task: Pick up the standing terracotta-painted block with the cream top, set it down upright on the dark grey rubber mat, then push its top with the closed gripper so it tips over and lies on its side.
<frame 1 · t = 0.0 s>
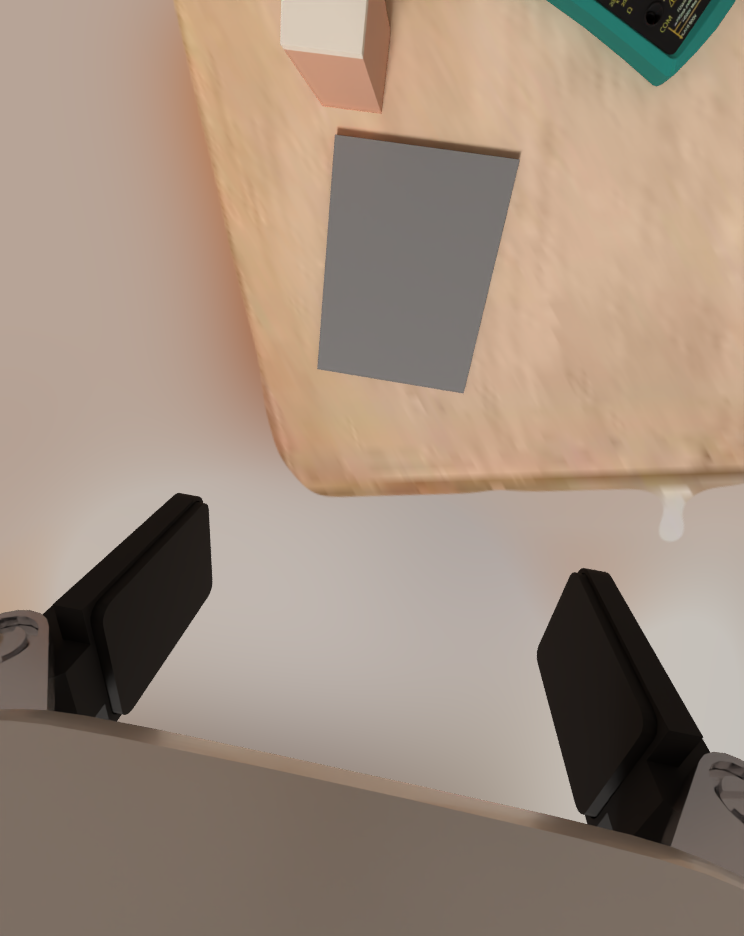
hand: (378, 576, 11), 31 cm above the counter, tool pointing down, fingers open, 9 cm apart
mat: (406, 277, 36), on the counter
block: (355, 70, 31), on the counter
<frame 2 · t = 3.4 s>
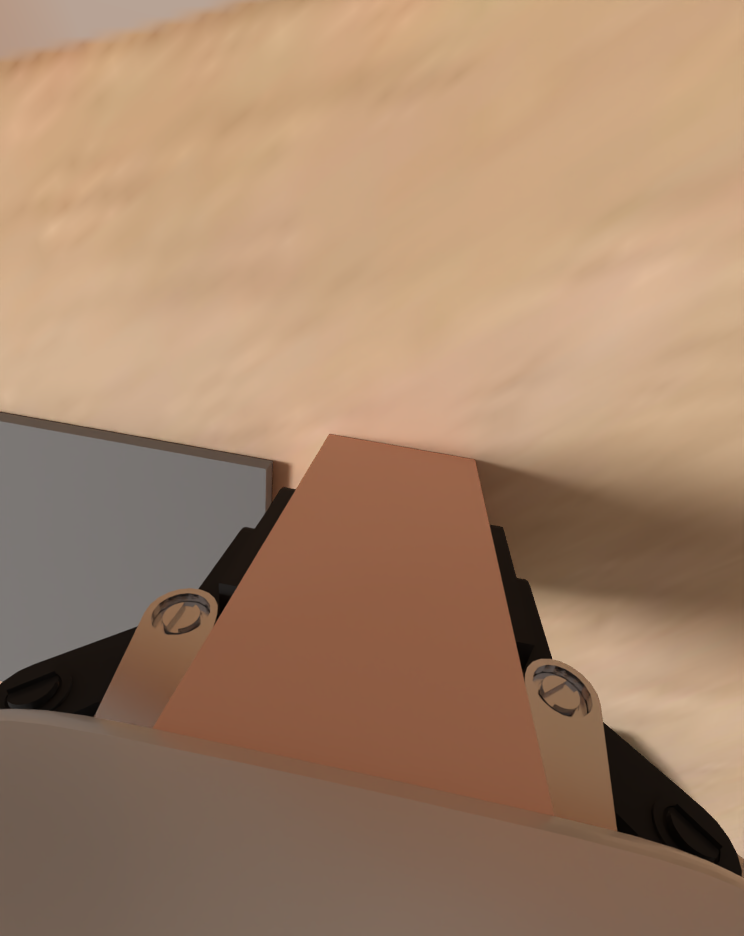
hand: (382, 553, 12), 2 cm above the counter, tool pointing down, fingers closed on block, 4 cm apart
mat: (55, 575, 17), on the counter
block: (390, 508, 14), on the counter, touching gripper
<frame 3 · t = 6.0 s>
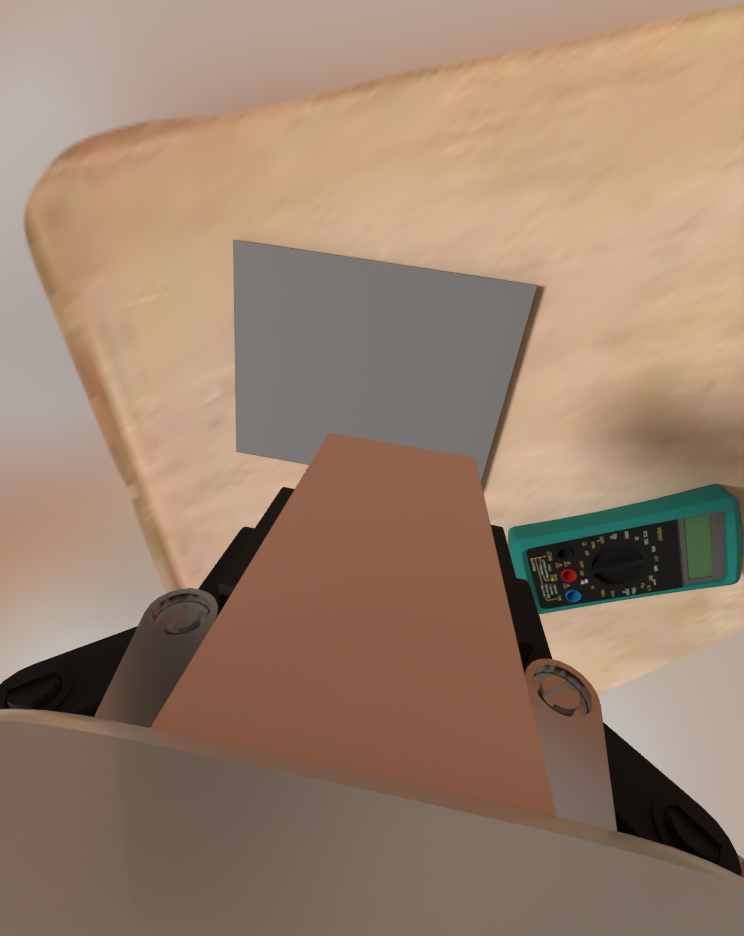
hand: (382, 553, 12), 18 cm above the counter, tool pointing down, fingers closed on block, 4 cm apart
mat: (368, 377, 28), on the counter
block: (390, 507, 14), point 16 cm above the counter, touching gripper
digital multimeter: (610, 541, 32), on the counter
when the fingers open (4 cm above the counter, at t = 8.8 s): block stays where it is, resting on mat.
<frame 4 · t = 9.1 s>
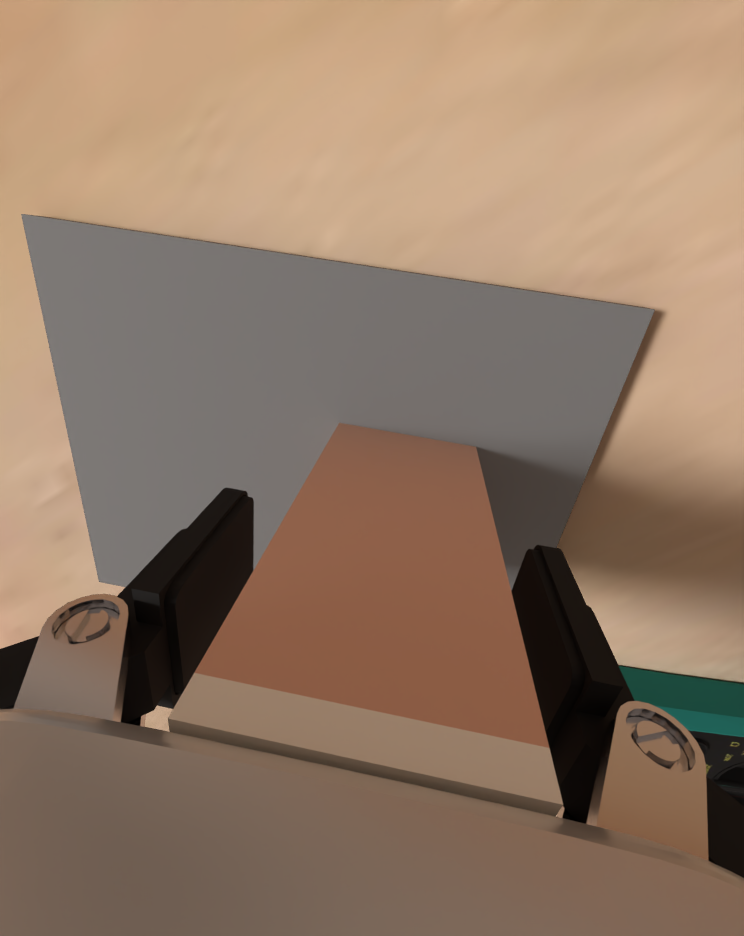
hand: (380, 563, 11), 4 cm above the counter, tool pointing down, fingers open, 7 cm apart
mat: (312, 471, 15), on the counter
block: (395, 493, 15), point 1 cm above the counter, touching mat
digital multimeter: (730, 723, 19), on the counter
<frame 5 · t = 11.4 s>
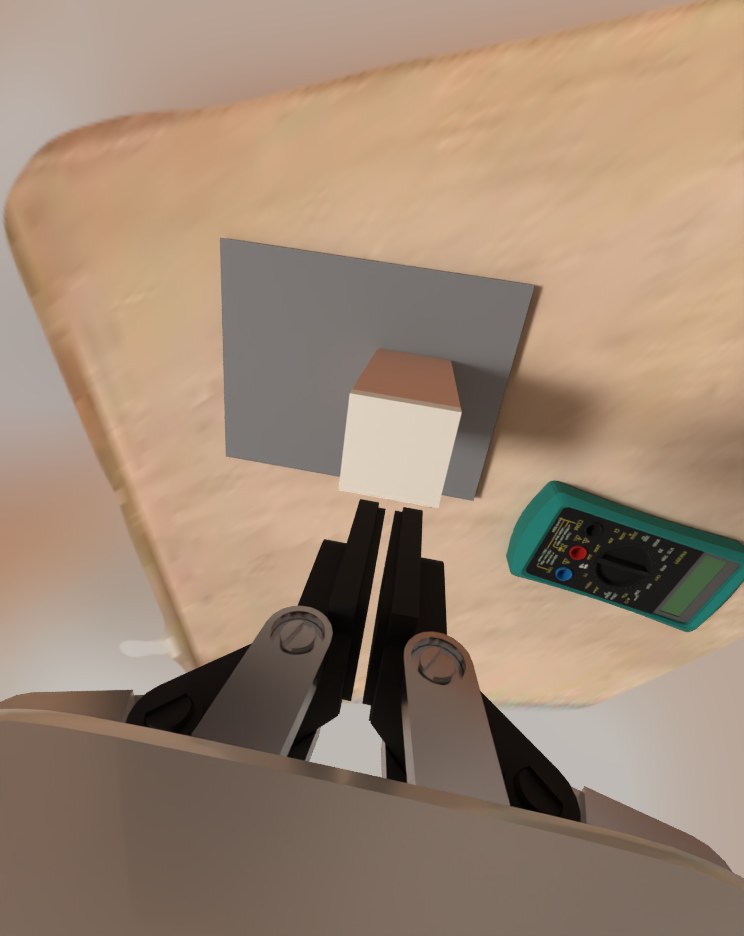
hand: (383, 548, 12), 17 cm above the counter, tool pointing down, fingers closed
mat: (360, 380, 27), on the counter
block: (407, 389, 27), point 1 cm above the counter, touching mat
digital multimeter: (614, 545, 31), on the counter
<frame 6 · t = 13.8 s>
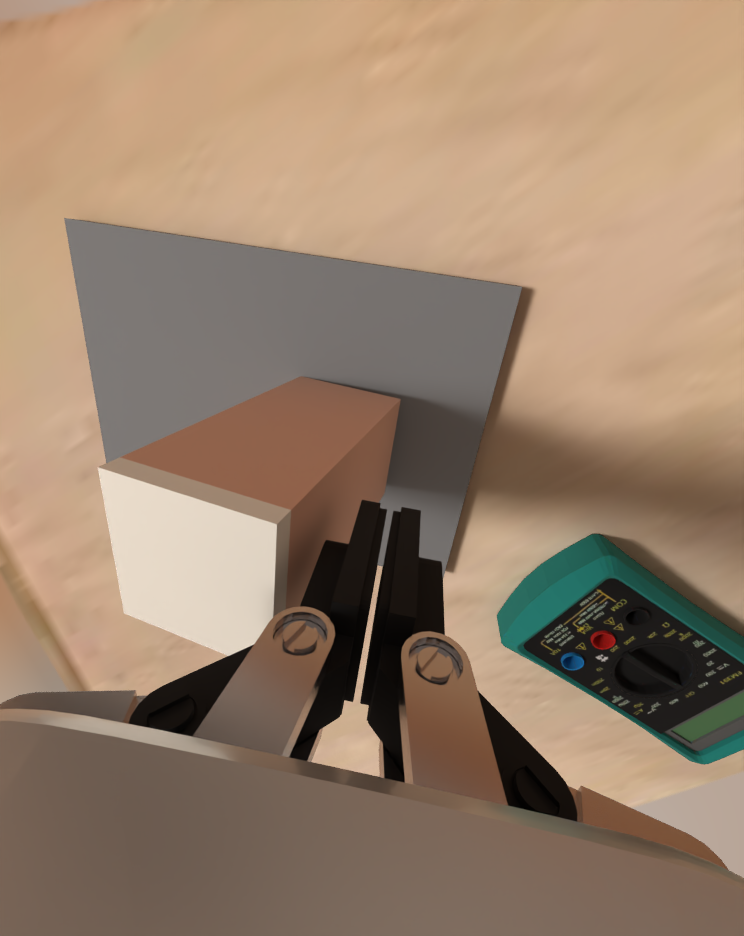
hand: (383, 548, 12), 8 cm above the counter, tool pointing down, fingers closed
mat: (283, 418, 20), on the counter
block: (343, 436, 19), point 1 cm above the counter, tilted 10°, touching mat
digital multimeter: (636, 632, 23), on the counter
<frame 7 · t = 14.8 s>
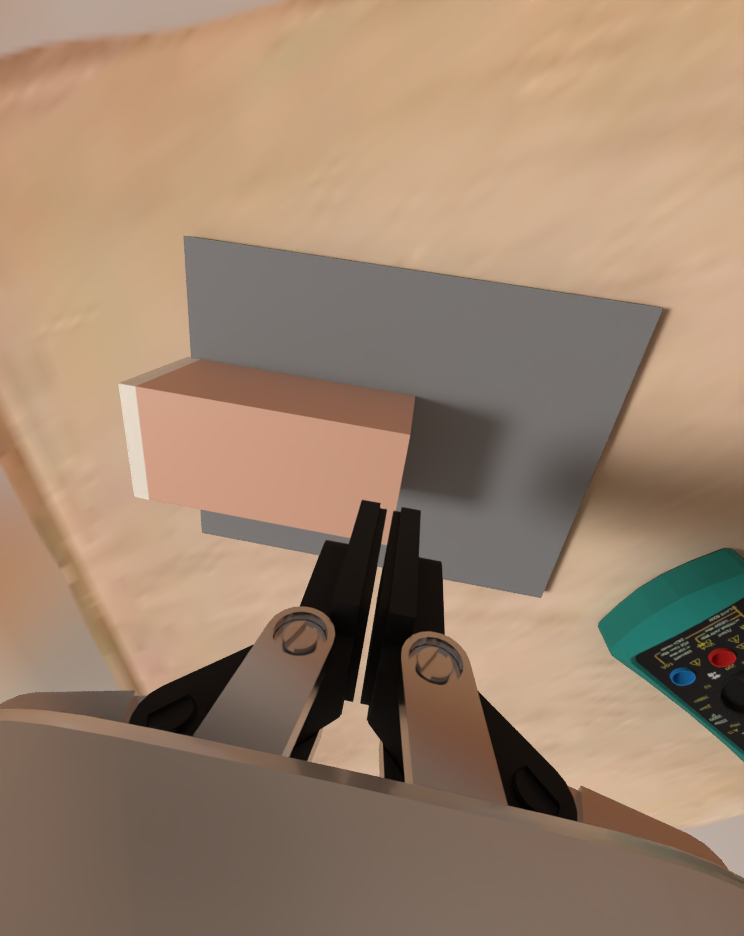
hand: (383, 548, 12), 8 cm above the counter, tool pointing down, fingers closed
mat: (388, 437, 19), on the counter
block: (403, 466, 17), point 3 cm above the counter, tilted 90°, touching mat
digital multimeter: (731, 651, 23), on the counter
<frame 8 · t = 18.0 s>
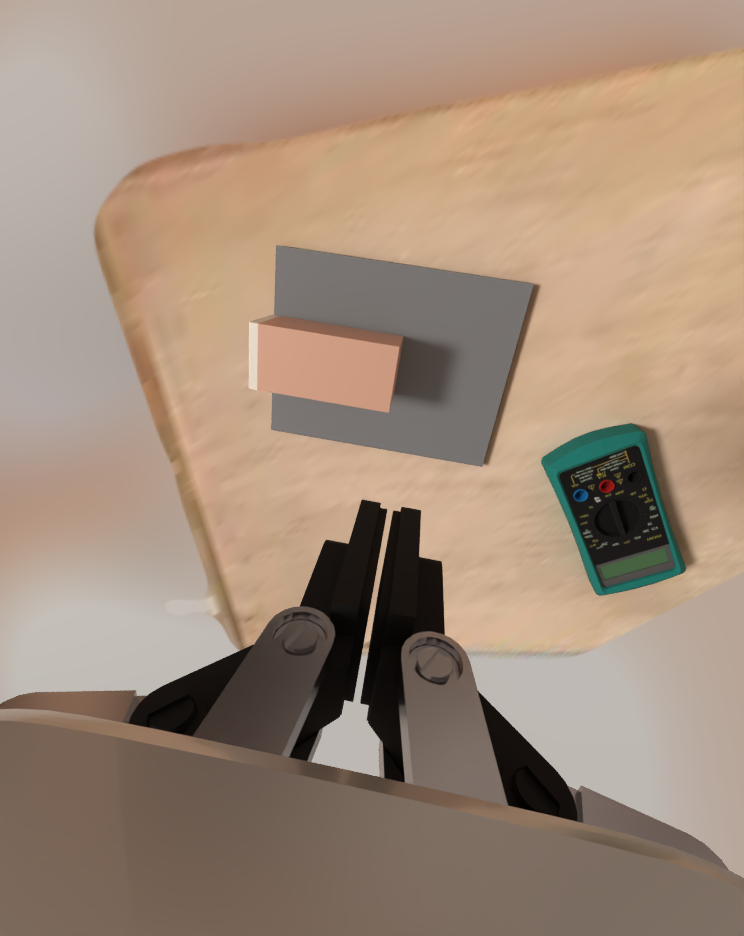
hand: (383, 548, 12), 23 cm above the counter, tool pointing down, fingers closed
mat: (388, 363, 33), on the counter
block: (396, 373, 30), point 3 cm above the counter, tilted 90°, touching mat
digital multimeter: (607, 506, 36), on the counter
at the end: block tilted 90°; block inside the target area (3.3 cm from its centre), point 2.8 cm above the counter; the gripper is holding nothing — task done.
